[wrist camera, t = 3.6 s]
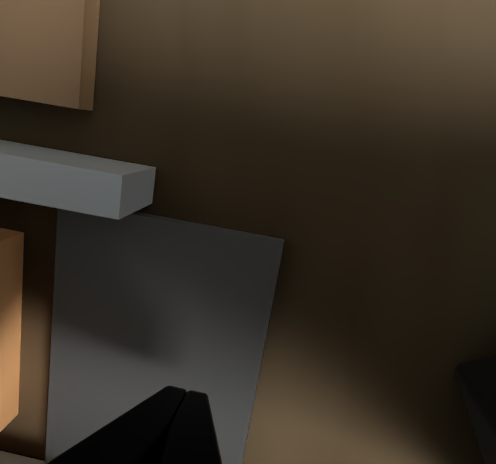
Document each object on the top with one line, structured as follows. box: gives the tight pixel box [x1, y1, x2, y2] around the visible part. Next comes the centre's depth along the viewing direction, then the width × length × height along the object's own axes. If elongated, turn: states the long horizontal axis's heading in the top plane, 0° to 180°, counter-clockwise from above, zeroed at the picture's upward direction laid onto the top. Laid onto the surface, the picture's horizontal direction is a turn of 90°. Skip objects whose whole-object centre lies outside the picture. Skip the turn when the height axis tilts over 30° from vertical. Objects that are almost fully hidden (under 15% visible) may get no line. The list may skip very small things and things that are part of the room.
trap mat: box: [45, 208, 284, 464], centre depth 10 cm, size 5×7×1 cm
